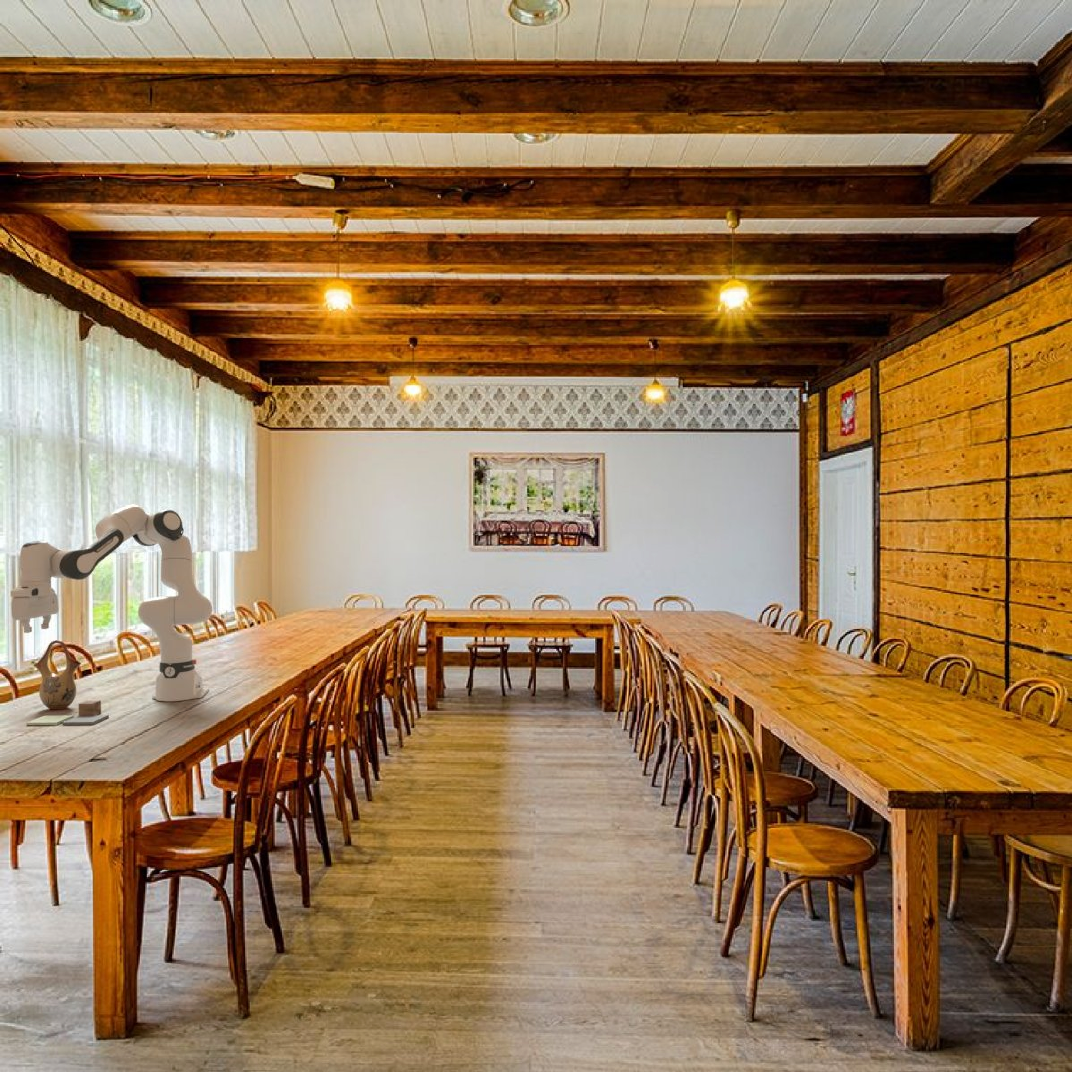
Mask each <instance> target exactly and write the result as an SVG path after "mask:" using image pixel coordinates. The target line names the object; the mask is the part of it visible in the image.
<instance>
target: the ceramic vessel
mask: <svg viewBox="0 0 1072 1072" xmlns="http://www.w3.org/2000/svg"><path fill="white" fill-rule="evenodd" d="M55 644H60V646H62V649H63V651H64V656H65V659H66V660H65V661H66V667H65V670H63V671H62V672H60V673H54V672H53V671H52V670H50V668H49V662H48V661H49V657H50V653H51V649H52V648H53V645H55ZM81 665H82V661H79V660H75V659H73V658H72V657H71V654H70V653H69V650H68V647H67V645H66V644H65V643H64V641H62V640H58V639H57V640H53V641H51V642H50V643H49V644H48V646H47V648H46V650H45V651H44V654H43V655H42V656H41V658H40V659H39V661H38V662H36V663H34V664H33V667H34V668H35V669H37V671H38V672H39V673H40V674H41V683H40V686H39V692H38V693H39V699H40V701H41V702H42V704H43V705H44V706H45V707H46V708H47V709H49V710H51V709H60V710H64V708H65V709H67V708H68V707H69V706H71V705H72V703H73V702H74V700H75V698H76V696H77V685H76V682H75V680H74V674H75V671H76V670H77V669H79V667H80V666H81Z"/></svg>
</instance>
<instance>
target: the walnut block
mask: <svg viewBox="0 0 1072 1072" xmlns="http://www.w3.org/2000/svg"><path fill="white" fill-rule="evenodd" d="M100 714H101V715H102V700H99V699H98V700H84V701H82V702H80V703H78V716H79V715H100Z"/></svg>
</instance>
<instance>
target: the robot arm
mask: <svg viewBox="0 0 1072 1072" xmlns="http://www.w3.org/2000/svg"><path fill="white" fill-rule="evenodd" d="M184 529H185V528H184V527H183V521H182V518H181V516H180V515H179V514H178V512H177V511H174V510H171V509H163V510H159V511H158V512H155V513H152V514H150V515H149V514H147V513H146V511H145V510H144V509H143V508H142V507H141V506H139V505H136V504H129V505H126V506H124V507H123V506H122V507H121V508H118V509H116V510H114V511H112V512H110V513H109V514H108V515H106V516H105V517H103V518H102V519H100V520H99V522H97V524H95V530H94V531H95V535H96V539H97V540H95V541H94V542H92V544H90V545H89V546H87V547H85V548H81V549H75V550H74V549H73V550H72V549H71V550H67V549H66V550H65V549H64V550H63V549H61V548H58V547H55V546H54V545H51V544H50V543H49V542H48V541H47V540H36V541H35V540H33V541H30V542H26V543H24V544H23V545H22V546H21V548H20V553H19V571H20V572H21V573H20V574H21V575H20V579H19V585H18V586H16V587H15V588H13V589H12V590H10V597H11V598H12V599H11V603H10V605H11V606H10V607H11V608H10V609H11V618H12V619H13V620H14V621H20V623H21V625H22V627H23V633H24V634H26V633H27V634H30V633H32V632H33V630H32V629H33V627H32V626H31V624H30V622H31V619H37V618H41V617H42V619H43V620H42V623H40V627H41V628H40V629H42V630H47V629H49V628H50V622H51V619H52V616H53V615H57V614H58V612H59V601H58V595H57V593H56V590H55V589H54V588H53V587H52V578H55V579H56V578H57V579H71V580H77V581H78V580H85V579H86V578H88V577H89V576H91V575H92V573H93V572H94V570H95V569H96V567H97V566H98V565H99V563H101V562H102V561H103V560H104V559H106V557H108V556H109V555H111V554H112V553H113V552H114V551H115V550H117V549H118V548H119V547H120V546H121V545H122V543H124V542H126V541H127V540H129V539H130V538H133V540H134V541H135V542H136V543H138V544H139V545H141V546H144V547H152V546H153V547H154V546H155V545H157V544H158V546H159V548H160V550H161V557H160V559H161V560H160V562H161V563H160V581H161V583H162V584H163V585H165V586H166V587H168V588H169V589H172V590H174V591H176V592H177V593H178V594H177V595H175V596H173V595H172V596H155V597H150V598H147V599H146V598H145V599H143V601H142V602H141V603H140V604H139V607H138V611H137V613H138V618H139V620H140V621H141V623H143V624H144V625H145V626H147V627H148V628H149V629H151V630H152V632H154V634H155V635H156V637H157V640H158V643H159V651H160V662H159V666H158V668H159V674H158V675H157V676H156V680H155V681H156V682H155V692H154V693H155V694H153V695H152V696H151V699H154V700H156V701H159V702H179V701H189V700H193V699H200V698H201V699H202V698H203V697H204V696H206V694H207V693H208V692H209V691H210V687H203V677H202V676H201V675H200V673H199V672H197V671H196V670H195V668H196V667H195V665H197V659H196V658H195V659H193V642H192V640H191V638H190V637H189V636H187V635H186V634H183V633H181V632H178V631H177V629H175V626H180V625H183V626H185V625H197V624H202V623H206V622H207V621H208V620H209V619H210V618H211V616H212V612H213V606H212V603H211V601H210V600H209V599H208V597H206V596H205V595H203V594H202V593H201V592H200V591H199V590H198V589H197V587H196V585H195V583H194V582H195V581H194V578H193V577H194V576H193V552H192V551H193V550H192V546H191V545H192V544H191V540H190V539H189V538H188V536H186V535H184Z"/></svg>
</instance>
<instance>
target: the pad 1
mask: <svg viewBox="0 0 1072 1072" xmlns="http://www.w3.org/2000/svg"><path fill="white" fill-rule="evenodd" d="M74 717H75V715H70V714H69V715H68V714H67V715H66V714H65V715H62V714H61V715H43V716H40V717H37V718H35V719H31V720H30V721H28V722H25V726H26V725H54V726H58V725H57V724H59V723H61V722H64V721H67V720H69V719H72V718H74ZM61 724H62V723H61ZM59 725H60V724H59Z"/></svg>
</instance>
